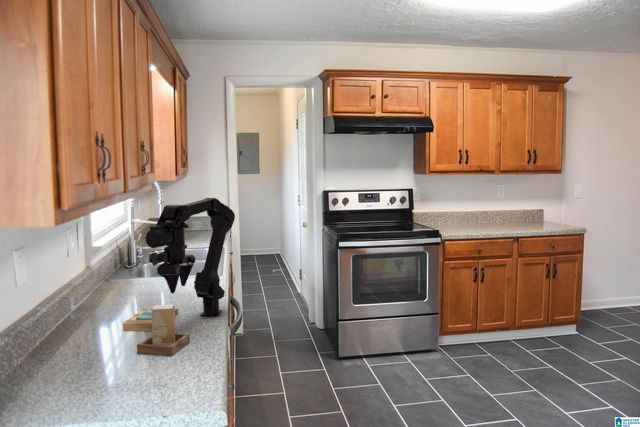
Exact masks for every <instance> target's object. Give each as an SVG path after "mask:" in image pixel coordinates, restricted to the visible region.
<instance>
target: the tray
mask: <svg viewBox="0 0 640 427" xmlns="http://www.w3.org/2000/svg"><path fill="white" fill-rule="evenodd" d="M190 341H191V339H190V334H189V333H176V332H175V343H173V344H172V345H170V346H163V345H153V338H152V335H150V336H148V337H147V338H145V339H144V340H142V341H141V342H139V343H137V344H136V353H137V354H142V355H143V354H144V355H156V356H168V357H169V356H171V357H172V356H174V355H175V354H176V353H178V352H179V351H180V350H181V349H183V348H185V346H187V345H188V344H189V343H190Z"/></svg>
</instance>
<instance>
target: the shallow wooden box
mask: <svg viewBox="0 0 640 427" xmlns="http://www.w3.org/2000/svg"><path fill="white" fill-rule="evenodd" d="M152 307H153V306H150V307H149V306H146V307H145V308H143V309H141V310H140V311H139V312H137V313H136V314H134V315H132V316H131V317H130V318H128V319H127V320H125V321H124V322H122V330H123V331H130V332H132V331H133V332H135V331H136V332H137V331H139V332H152ZM174 310H175V318H176V317H177V316H178V315H179V307H174Z"/></svg>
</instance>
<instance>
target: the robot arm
mask: <svg viewBox="0 0 640 427" xmlns="http://www.w3.org/2000/svg"><path fill="white" fill-rule="evenodd" d="M205 212H206V215H207V216H208V217H209V218H210V222H209V223H210V226H211V229H212V233H211V237H210V240H209V244H208V248H207V254H206V258H205V260H204V261H205V262H204V266H203V268H202V270H201V271H200V272H199V271H197V272H196V274H195V278H194V282H193V284H194V285H193V287H194V288H193V289H194V290H195V293H196V296H197V298H202V312H201V313H200V314H199V316H200V317H218V316H220V314H221V313H222V312H223V309H220V300H222V299H223V298H224V297H225V292H226V291H225V290H224V289H223V288H222V287H221V286H220V282H221V281H220V280H221V279H220V276H219V273H218V270H219V264H220V262H221V256H222V253H223V249H224V244H225V240H226V237H227V236H226V235H227V233H228V232H229V231H230V230H231V229H232V227H233V225H234V223H235V219H236V215H235V214H236V213H235V212H234V210H233V209H231V208H230V207H229V206H227V205H226V204H224V203H222V202H221V201H220V199H218V198H216V197H206V198H204V199H201V200H195V201H192V202H189V203H185V204H167V205H164V206H163V209H162V211H161V214H160V215H159V218H158V220H157V221H156V225H152V226H151V225H150V227H149V230H148V231H147V233H146V236H145V243H146V245H147V246H148V247H149V248H150V249H155V248H160V247H164V246H165V247H164V248H163V251H161V252H159V253H158V252H156V251H155V252H153V253H150V254H149V257H148V259H149V260H148V263H150V264H152V266H153V267H154V266H157V265H158V264H159V265H158V266H157V267H156V274H157V275H159V276H160V277H162V278H164V279H165V281H166V284H167V286H168V289H169V292H170V294H175V292H176V289H177V286H178V282H179V280H180V284H181V285H180V286H181V287H185V286H186V284H187V282H188V279H189V276H190V274H191V271H192V269H193V267H194V265H195V263H196V257H195V256H194V255H193V254H186V250H187V249H188V245H187V244H186V241H185V240H186V239H185V238H186V236H185V229H189V227H190V226H189V224H187V223H186V221H188V220H190V218H191V217H192V216H196V215H199V214H201V213H205Z"/></svg>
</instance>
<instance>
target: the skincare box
mask: <svg viewBox="0 0 640 427" xmlns="http://www.w3.org/2000/svg"><path fill="white" fill-rule="evenodd" d="M151 307H152V331H151V333H152V334H151V336H152V338H153V345H163V346H170V345H172V344H173V343H175V333H176V322H175V321H176V317H175V310H174V308H175V304H159V305H157V304H155V305H153V306H151Z"/></svg>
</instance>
